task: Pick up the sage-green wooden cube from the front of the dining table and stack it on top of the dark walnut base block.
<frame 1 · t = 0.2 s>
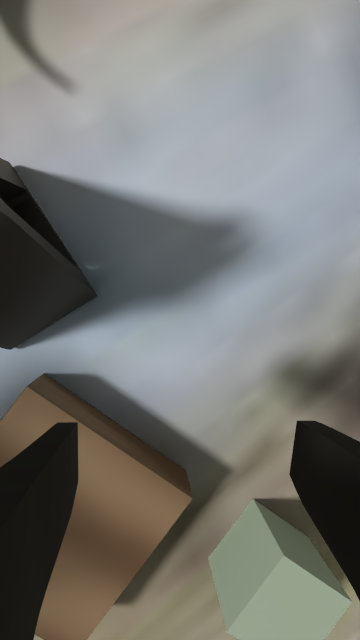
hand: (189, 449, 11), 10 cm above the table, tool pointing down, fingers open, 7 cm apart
cube: (258, 546, 23), on the table
base block: (64, 493, 21), on the table
phone stand: (13, 258, 20), on the table
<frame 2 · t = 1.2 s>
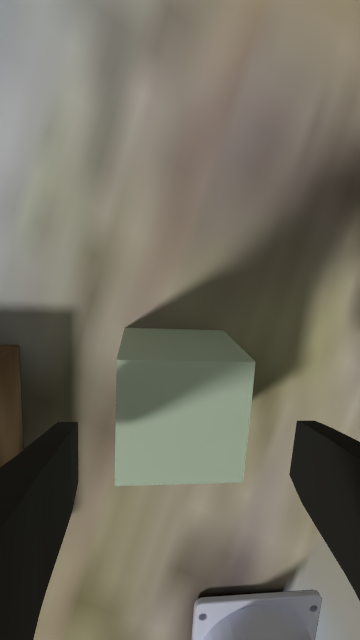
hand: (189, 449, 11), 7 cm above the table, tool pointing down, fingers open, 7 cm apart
cube: (172, 375, 17), on the table
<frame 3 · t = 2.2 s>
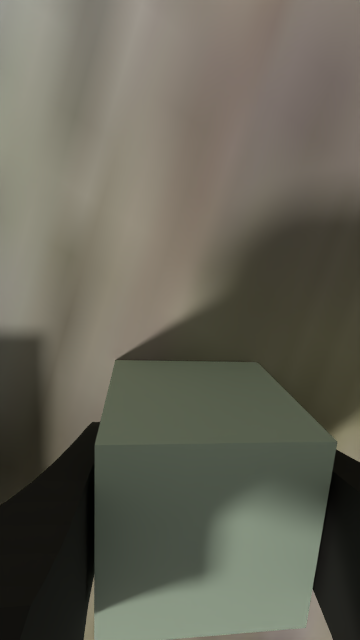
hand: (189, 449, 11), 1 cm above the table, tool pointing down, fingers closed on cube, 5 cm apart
cube: (184, 426, 12), on the table, touching gripper
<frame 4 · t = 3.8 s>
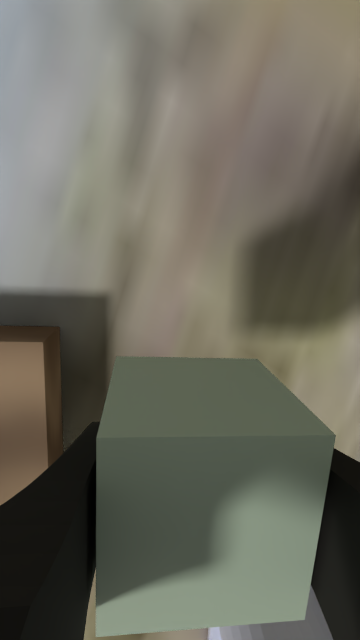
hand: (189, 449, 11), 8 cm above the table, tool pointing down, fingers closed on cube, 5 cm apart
cube: (184, 422, 12), point 7 cm above the table, touching gripper
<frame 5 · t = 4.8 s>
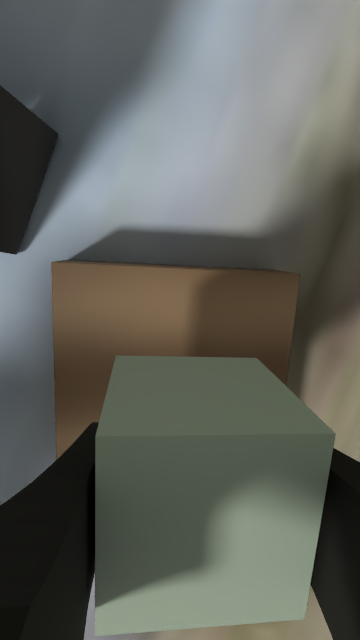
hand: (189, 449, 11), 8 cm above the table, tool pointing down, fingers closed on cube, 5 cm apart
cube: (184, 421, 12), point 7 cm above the table, touching gripper
base block: (170, 364, 19), on the table
when the fingers open (6 cm above the table, at t = 5.6 s): cube drops 1 cm, resting on base block.
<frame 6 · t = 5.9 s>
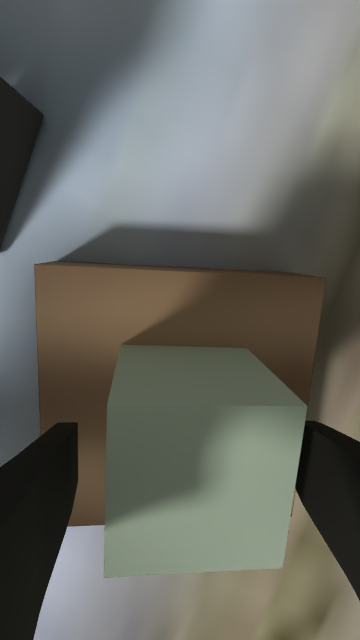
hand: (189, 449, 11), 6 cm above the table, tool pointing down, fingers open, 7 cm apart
cube: (181, 405, 13), point 3 cm above the table, touching base block
base block: (173, 379, 16), on the table
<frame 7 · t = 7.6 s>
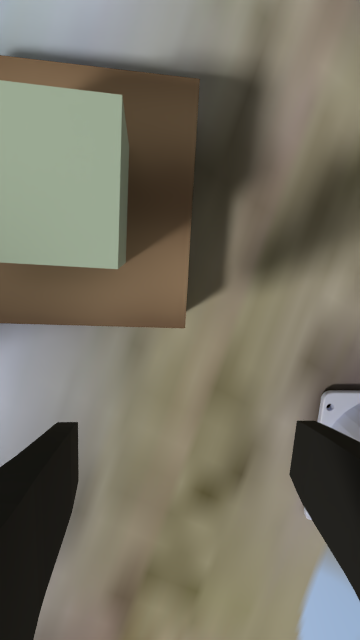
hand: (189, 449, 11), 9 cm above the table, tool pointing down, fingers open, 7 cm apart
cube: (70, 202, 15), point 3 cm above the table, touching base block
base block: (81, 211, 18), on the table
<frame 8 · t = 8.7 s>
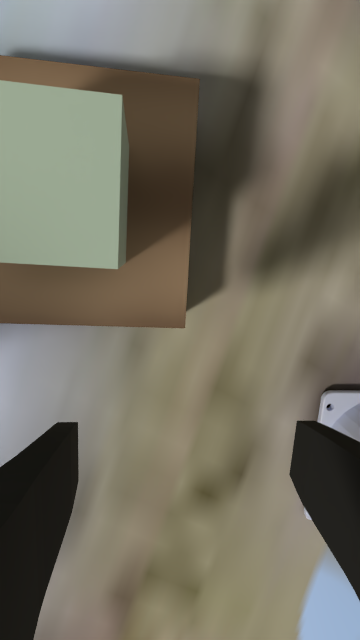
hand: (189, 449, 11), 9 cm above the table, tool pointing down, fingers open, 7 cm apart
cube: (70, 202, 15), point 3 cm above the table, touching base block
base block: (81, 211, 18), on the table
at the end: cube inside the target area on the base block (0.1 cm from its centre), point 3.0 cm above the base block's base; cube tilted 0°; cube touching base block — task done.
